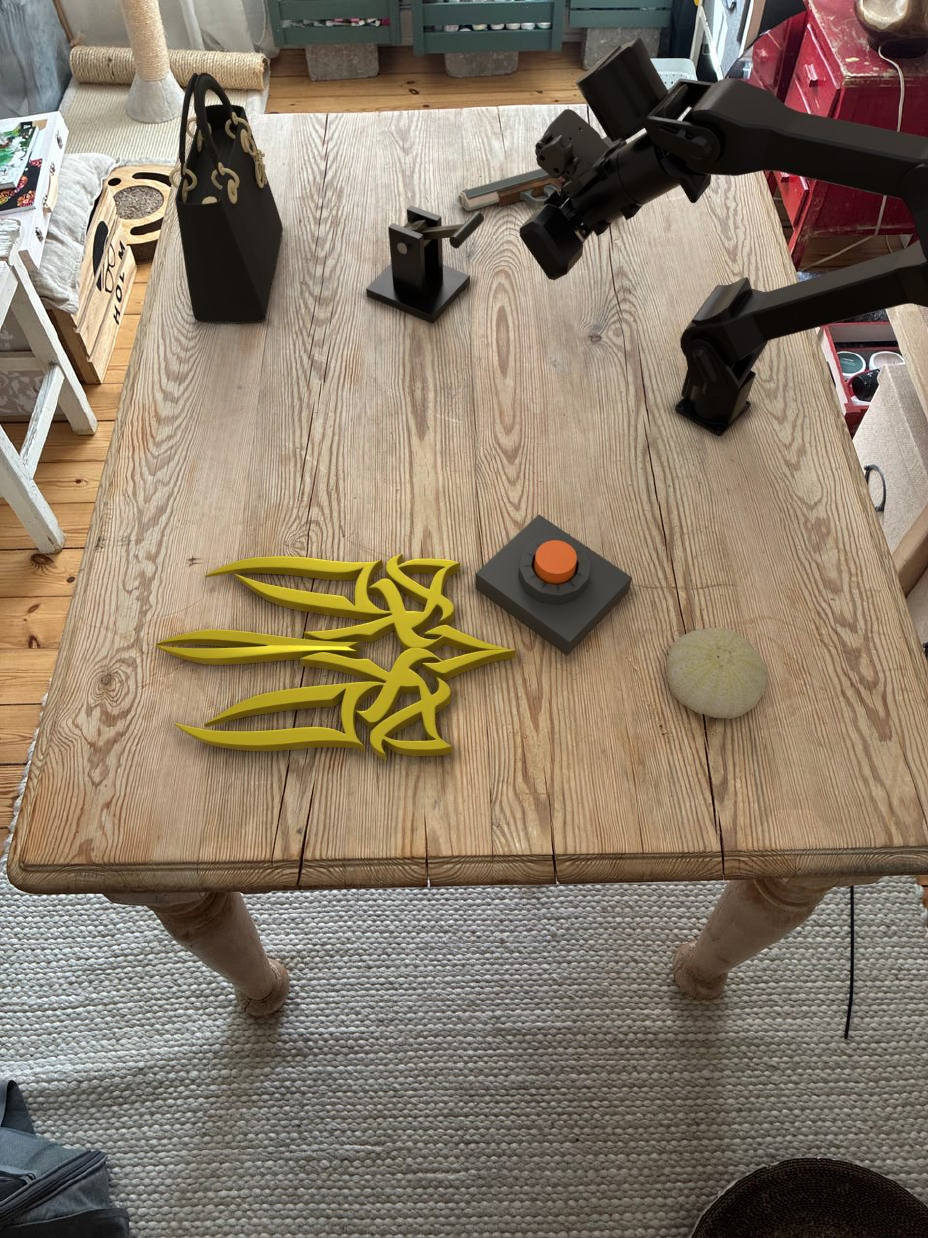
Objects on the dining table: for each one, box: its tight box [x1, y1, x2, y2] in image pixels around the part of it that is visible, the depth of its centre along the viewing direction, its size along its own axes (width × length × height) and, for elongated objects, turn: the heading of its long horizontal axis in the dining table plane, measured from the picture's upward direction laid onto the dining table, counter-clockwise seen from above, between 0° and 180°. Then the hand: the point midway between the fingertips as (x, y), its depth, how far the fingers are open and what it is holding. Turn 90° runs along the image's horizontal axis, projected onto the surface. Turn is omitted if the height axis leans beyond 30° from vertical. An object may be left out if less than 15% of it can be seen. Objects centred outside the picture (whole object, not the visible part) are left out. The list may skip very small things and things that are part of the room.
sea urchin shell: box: [665, 626, 769, 720], centre depth 88 cm, size 9×8×8 cm
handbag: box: [168, 72, 284, 324], centre depth 110 cm, size 21×9×25 cm, turn 179°
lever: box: [403, 210, 485, 249], centre depth 110 cm, size 10×6×2 cm, turn 59°
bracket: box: [365, 205, 471, 324], centre depth 115 cm, size 10×9×10 cm
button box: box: [474, 514, 633, 657], centre depth 93 cm, size 12×10×4 cm
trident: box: [155, 553, 517, 762], centre depth 90 cm, size 22×2×35 cm
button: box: [535, 540, 577, 584], centre depth 91 cm, size 4×4×2 cm
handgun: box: [458, 167, 564, 213], centre depth 127 cm, size 2×20×12 cm
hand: (531, 235), depth 103 cm, fingers closed
